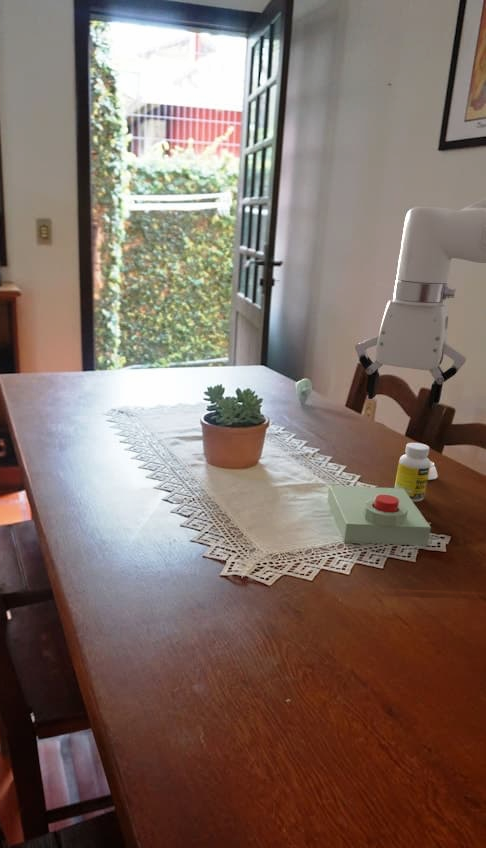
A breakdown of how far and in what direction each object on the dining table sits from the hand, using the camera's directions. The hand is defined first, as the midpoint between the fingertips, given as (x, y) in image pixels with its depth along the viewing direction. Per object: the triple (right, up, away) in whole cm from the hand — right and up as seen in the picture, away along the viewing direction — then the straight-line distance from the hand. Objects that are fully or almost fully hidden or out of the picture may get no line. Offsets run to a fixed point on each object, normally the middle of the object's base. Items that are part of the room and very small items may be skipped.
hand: (401, 401), depth 112 cm
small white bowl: (+11, -12, +23) cm, 28 cm away
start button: (-4, -18, -5) cm, 19 cm away
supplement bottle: (+5, -16, +12) cm, 21 cm away
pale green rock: (-6, +10, +71) cm, 72 cm away
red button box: (-4, -20, +1) cm, 20 cm away
